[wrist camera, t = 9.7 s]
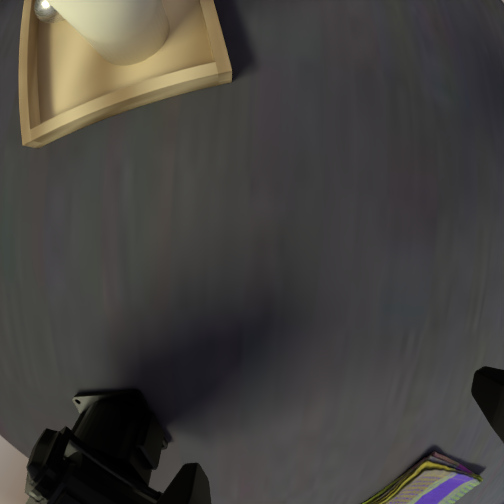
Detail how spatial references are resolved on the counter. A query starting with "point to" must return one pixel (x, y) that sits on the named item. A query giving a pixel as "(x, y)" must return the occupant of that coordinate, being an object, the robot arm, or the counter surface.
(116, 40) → the ball
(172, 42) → the tray
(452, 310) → the counter surface
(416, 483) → the dish towel
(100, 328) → the counter surface
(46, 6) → the ball
